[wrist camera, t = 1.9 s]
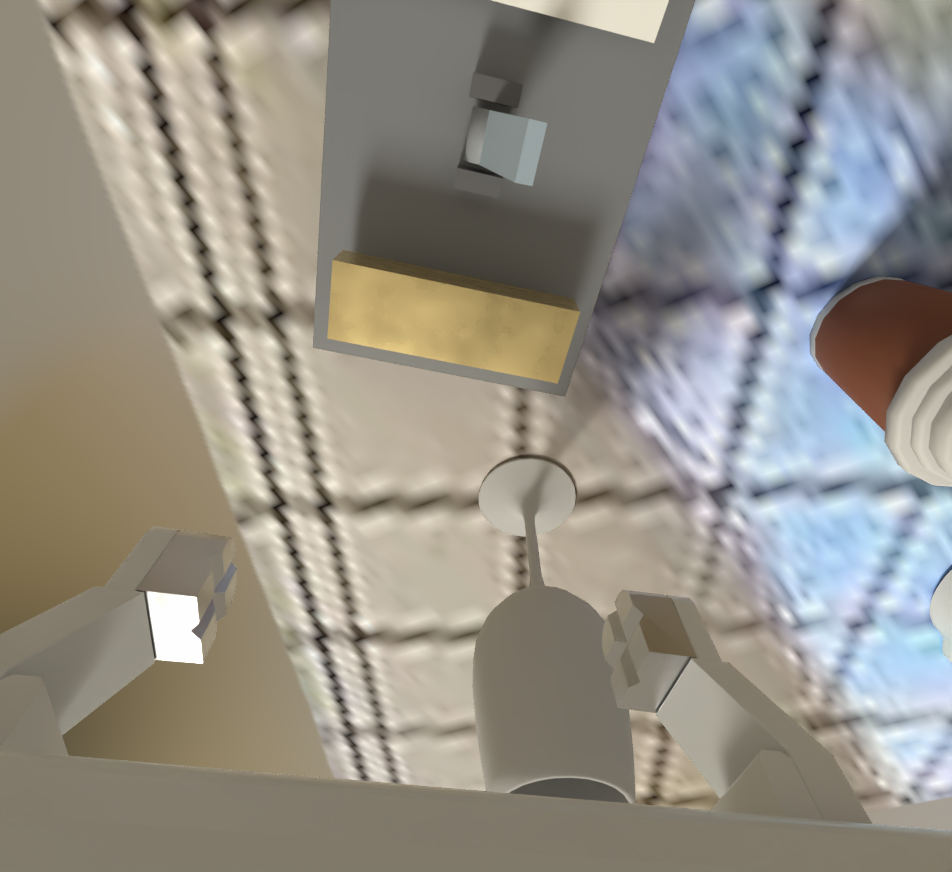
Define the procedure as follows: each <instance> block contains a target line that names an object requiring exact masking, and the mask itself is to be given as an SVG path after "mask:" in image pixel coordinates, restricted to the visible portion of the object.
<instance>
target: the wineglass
mask: <svg viewBox="0 0 952 872" xmlns="http://www.w3.org/2000/svg"><path fill="white" fill-rule="evenodd" d="M575 498H576V494H575V488H574V484H573V482H572V480H571V478H570V476H569V475H568V474H567V473H566V472H565V471H564V470H563V469H562V468H561V467H559V466H558V465H556V464H555V463H553V462H550V461H547V460H544V459H540V458H532V457H528V458H517V459H514V460H510V461H507V462H505V463H503V464H501V465H499V466H497V467H496V468H495V469H493V470H492V471H491V472H490V473H489V474H488V475H487V476H486V478H485V479H484V481H483V482H482V485H481V488H480V490H479V506H480V509H481V512H482V514H483V516H484V517H485V519H486V520H487V521H488V522H489V523H490V524H491V525H492V526H493V527H495V528H497V529H498V530H500V531H502V532H505V533H508V534H511V535H516V536H526V542H527V552H528V562H529V572H530V582H529V588H525V589H522V590H520V591H518V592H515V593H513V594H512V595H510V596H509V597H507V598H506V599H505V600H504V601H502V602H501V603H500V604H499V605H498V606H497V607H495V608H494V610H493V611H492V612H491V613H490V614H489V615H488V617H487V619H486V621H485V623H484V625H483V627H482V629H481V631H480V633H479V636H478V638H477V640H476V645H475V652H474V660H473V698H474V709H475V718H476V727H477V736H478V744H479V751H480V758H481V764H482V771H483V776H484V782H485V787H486V791H489V792H500V793H512V794H524V795H536V796H548V797H560V798H572V799H583V800H595V801H607V802H619V803H631V804H635V775H634V758H633V744H632V734H631V725H630V716H629V709H623V708H618V707H617V703H616V699H615V696H614V692H613V688H612V684H611V681H610V678H611V676H612V674H613V672H614V669H613V668H612V667H611V666H610V665H609V663H608V662H607V661H606V660H605V657H604V653H603V648H602V633H603V626H604V624H605V621H604V620H603V619H602V618H601V616H600V615H599V614H598V613H597V611H596V610H595V609H594V608H593V607H592V606H591V605H589V604H588V603H587V602H585V601H584V600H582V599H580V598H578V597H577V596H575V595H573V594H571V593H569V592H568V591H566V590H563V589H559V588H556V587H549V586H545V584H544V581H543V579H542V575H541V567H540V559H539V552H538V544H537V536H536V535H539V534H543V533H546V532H549V531H551V530H553V529H555V528H556V527H558V526H559V525H560V524H562V523H563V522H564V521H565V520H566V519H567V518H568V516H569V515H570V514H571V512H572V510H573V507H574V505H575Z"/></svg>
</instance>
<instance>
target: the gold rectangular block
mask: <svg viewBox="0 0 952 872" xmlns="http://www.w3.org/2000/svg"><path fill="white" fill-rule="evenodd" d="M579 315H580V310H579V308H578V306H577V304H576V302H575V300H574V299H573V298H568V297H563V296H559V295H554V294H549V293H545V292H540V291H535V290H530V289H526V288H521V287H516V286H512V285H507V284H502V283H497V282H493V281H488V280H483V279H478V278H474V277H469V276H464V275H460V274H455V273H450V272H445V271H441V270H436V269H431V268H427V267H422V266H417V265H412V264H408V263H403V262H398V261H393V260H389V259H384V258H379V257H375V256H370V255H365V254H360V253H356V252H351V251H346V250H342V251H341V252H340V253H339V254H338V255H337V256H336V257H335V258H334V259H333V260H332V276H331V291H330V306H329V321H328V336H327V339H332V340H337V341H342V342H347V343H353V344H358V345H363V346H368V347H373V348H378V349H383V350H388V351H394V352H399V353H404V354H409V355H414V356H419V357H424V358H429V359H434V360H440V361H445V362H450V363H455V364H460V365H465V366H470V367H475V368H480V369H486V370H491V371H496V372H501V373H506V374H511V375H516V376H521V377H527V378H532V379H537V380H542V381H547V382H552V383H557V384H558V381H559V378H560V375H561V372H562V369H563V365H564V362H565V359H566V356H567V353H568V350H569V346H570V343H571V340H572V337H573V334H574V331H575V327H576V324H577V321H578V318H579Z"/></svg>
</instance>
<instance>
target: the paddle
mask: <svg viewBox="0 0 952 872" xmlns="http://www.w3.org/2000/svg"><path fill="white" fill-rule="evenodd" d="M546 127H547V123H545V122H541V121H537V120H533V119H528V118H524V117H519V116H515V115H510V114H505V113H501V112H496V111H492V110H487V109H483V108H479V107H474V106H473V108H472V114H471V120H470V126H469V131H468V137H467V143H466V149H465V154H464V160H465V161H467V162H470V163H474V164H478V165H480V166H482V167H484V168H487V169H489V170H491V171H493V172H495V173H497V174H499V175H501V176H503V177H505V178H507V179H509V180H511V181H513V182H515V183H519V184H524V185H529V186H533V182H534V178H535V173H536V169H537V165H538V161H539V157H540V152H541V148H542V144H543V140H544V136H545V132H546Z"/></svg>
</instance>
